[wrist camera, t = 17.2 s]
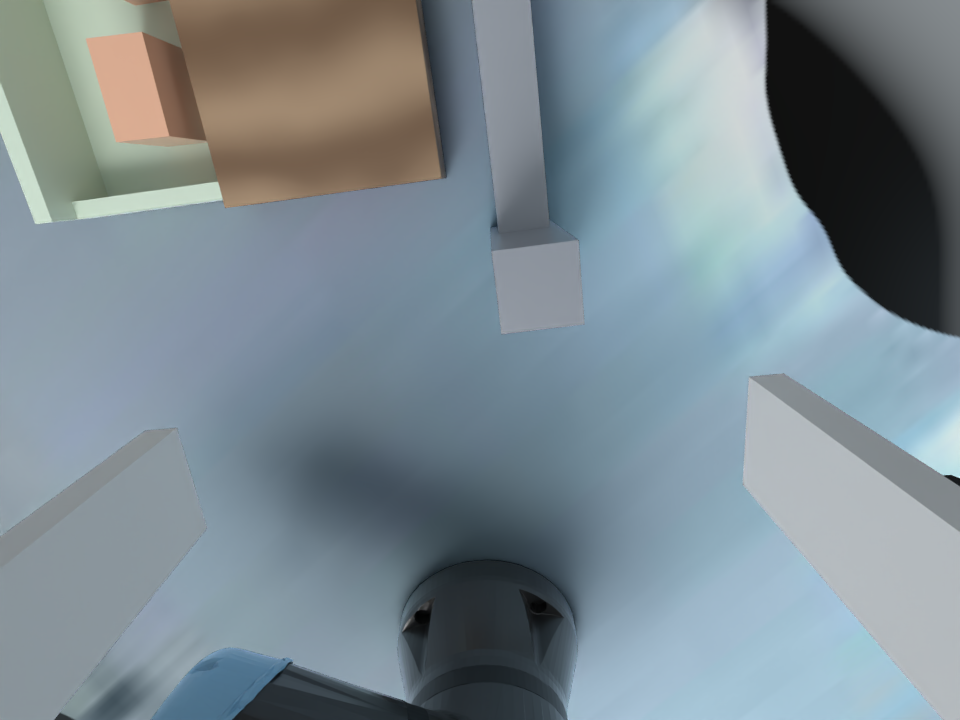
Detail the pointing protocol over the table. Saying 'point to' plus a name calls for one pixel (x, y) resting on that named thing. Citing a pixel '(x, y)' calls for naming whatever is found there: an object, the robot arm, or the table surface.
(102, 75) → the tile
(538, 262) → the scraper
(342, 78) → the brown wooden board
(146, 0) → the tile
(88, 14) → the tray
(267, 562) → the table surface
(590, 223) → the table surface
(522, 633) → the robot arm
